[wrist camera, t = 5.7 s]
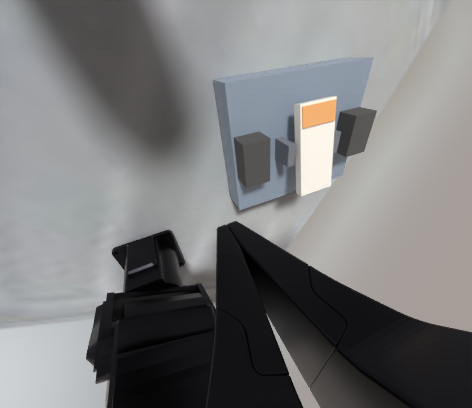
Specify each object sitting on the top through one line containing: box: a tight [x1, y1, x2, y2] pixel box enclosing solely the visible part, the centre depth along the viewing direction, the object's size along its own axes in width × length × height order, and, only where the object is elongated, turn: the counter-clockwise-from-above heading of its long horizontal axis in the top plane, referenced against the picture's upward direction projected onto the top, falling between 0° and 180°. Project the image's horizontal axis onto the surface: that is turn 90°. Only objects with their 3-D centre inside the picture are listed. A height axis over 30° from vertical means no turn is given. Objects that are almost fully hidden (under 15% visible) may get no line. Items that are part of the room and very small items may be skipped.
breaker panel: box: [213, 57, 373, 210], centre depth 20 cm, size 12×14×5 cm
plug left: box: [234, 132, 271, 188], centre depth 17 cm, size 4×2×2 cm, turn 7°
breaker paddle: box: [294, 96, 337, 196], centre depth 18 cm, size 8×4×1 cm, turn 7°
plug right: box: [336, 107, 377, 157], centre depth 20 cm, size 4×2×2 cm, turn 7°
